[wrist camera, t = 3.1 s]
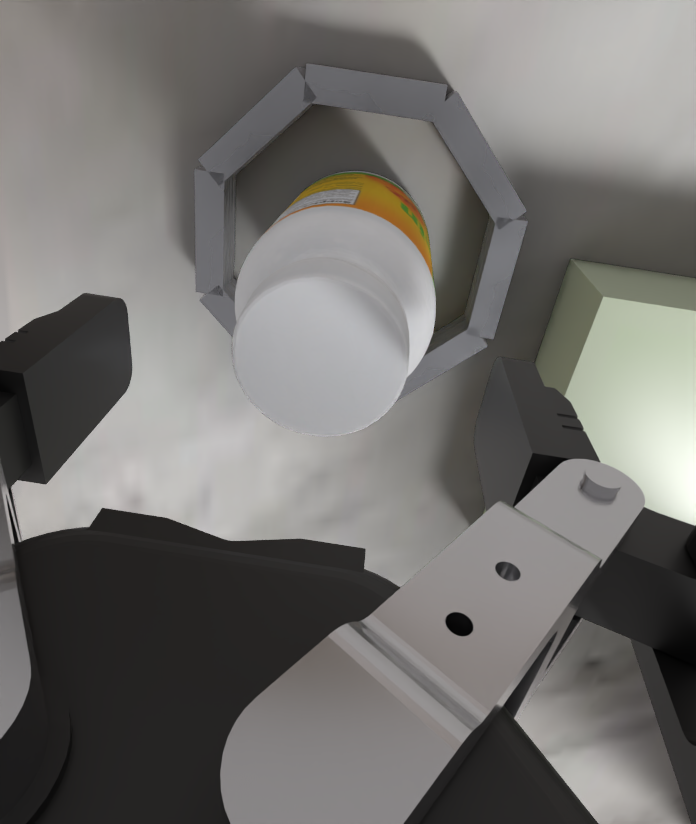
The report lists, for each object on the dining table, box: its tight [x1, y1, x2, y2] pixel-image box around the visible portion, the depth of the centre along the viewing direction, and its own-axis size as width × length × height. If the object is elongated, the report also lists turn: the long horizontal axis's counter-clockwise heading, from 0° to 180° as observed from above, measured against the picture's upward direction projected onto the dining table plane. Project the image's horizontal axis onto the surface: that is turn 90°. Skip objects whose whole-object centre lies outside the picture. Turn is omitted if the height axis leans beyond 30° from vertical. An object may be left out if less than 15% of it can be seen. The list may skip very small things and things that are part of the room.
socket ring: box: [194, 63, 528, 401], centre depth 20 cm, size 11×11×2 cm
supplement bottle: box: [232, 171, 436, 436], centre depth 16 cm, size 5×5×10 cm
